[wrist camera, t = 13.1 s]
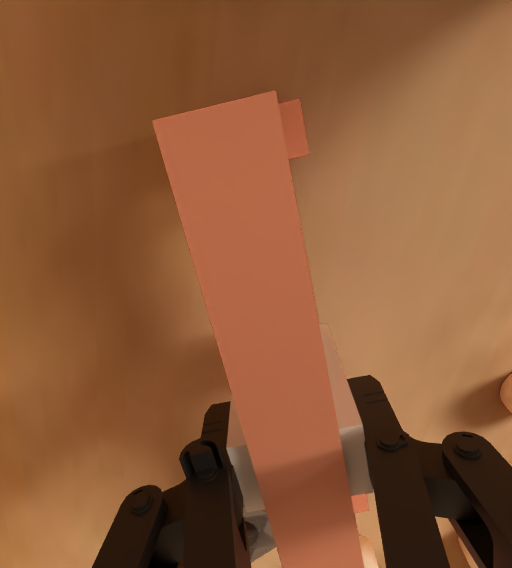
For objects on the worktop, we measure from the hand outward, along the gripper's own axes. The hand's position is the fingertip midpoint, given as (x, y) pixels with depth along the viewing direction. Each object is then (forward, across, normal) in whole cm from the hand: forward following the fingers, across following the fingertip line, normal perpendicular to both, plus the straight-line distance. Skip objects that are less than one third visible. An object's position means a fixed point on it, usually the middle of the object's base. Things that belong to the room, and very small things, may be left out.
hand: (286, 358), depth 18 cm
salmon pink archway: (+1, 0, 0) cm, 1 cm away
